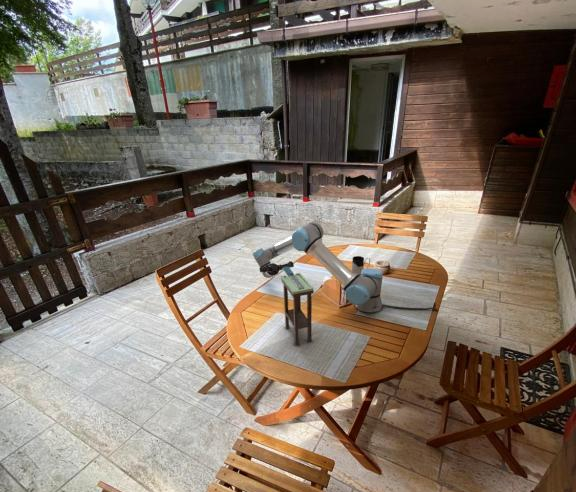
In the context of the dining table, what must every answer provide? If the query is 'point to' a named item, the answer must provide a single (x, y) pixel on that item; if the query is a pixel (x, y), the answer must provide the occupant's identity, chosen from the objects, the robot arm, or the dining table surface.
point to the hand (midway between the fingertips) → (279, 265)
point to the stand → (298, 313)
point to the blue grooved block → (293, 277)
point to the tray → (293, 287)
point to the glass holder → (358, 264)
